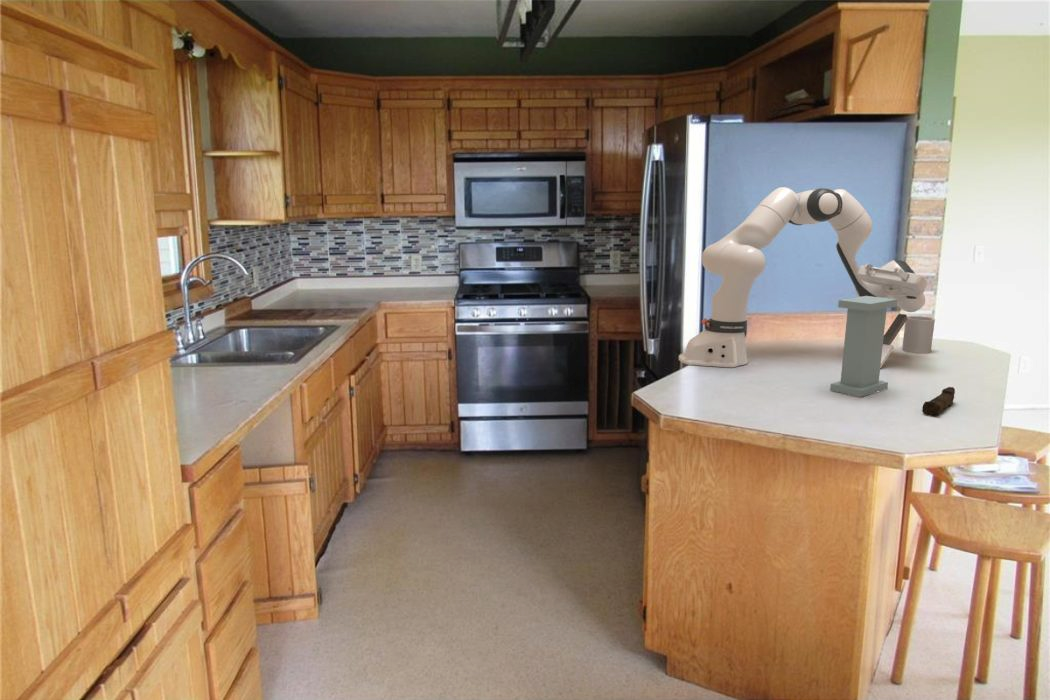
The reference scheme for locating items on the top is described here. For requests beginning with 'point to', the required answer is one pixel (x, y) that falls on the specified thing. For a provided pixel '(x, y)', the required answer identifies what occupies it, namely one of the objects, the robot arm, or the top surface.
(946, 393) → the dark brown elongated piece
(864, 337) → the stand
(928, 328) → the cup
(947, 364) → the top surface
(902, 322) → the turner
